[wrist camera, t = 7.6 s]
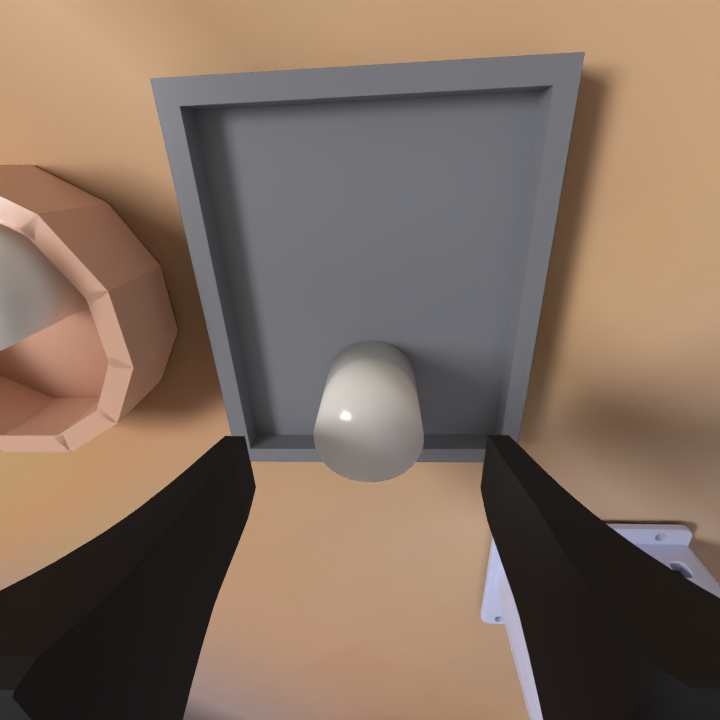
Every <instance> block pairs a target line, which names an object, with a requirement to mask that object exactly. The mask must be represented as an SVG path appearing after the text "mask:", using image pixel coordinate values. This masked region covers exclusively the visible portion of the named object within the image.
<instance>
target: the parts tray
mask: <svg viewBox="0 0 720 720" xmlns="http://www.w3.org/2000/svg"><path fill="white" fill-rule="evenodd" d="M584 54H585V52H575V53H559V54H542V55H526V56H510V57H494V58H477V59H461V60H445V61H428V62H412V63H396V64H380V65H363V66H347V67H331V68H314V69H298V70H282V71H266V72H249V73H233V74H217V75H200V76H184V77H168V78H152V79H150V81H151V85H152V90H153V94H154V98H155V103H156V107H157V112H158V116H159V120H160V125H161V129H162V133H163V138H164V142H165V147H166V151H167V155H168V160H169V164H170V168H171V173H172V177H173V182H174V186H175V190H176V195H177V199H178V203H179V208H180V212H181V216H182V221H183V225H184V230H185V234H186V238H187V243H188V247H189V251H190V256H191V260H192V265H193V269H194V273H195V278H196V282H197V286H198V291H199V295H200V300H201V304H202V308H203V313H204V317H205V321H206V326H207V330H208V335H209V339H210V343H211V348H212V352H213V356H214V361H215V365H216V369H217V374H218V378H219V383H220V387H221V391H222V396H223V400H224V404H225V409H226V413H227V418H228V422H229V426H230V431H231V435H232V436H245V439H246V443H247V448H248V453H249V457H250V461H268V462H323V461H322V459H321V458H320V457H319V455H318V453H317V451H316V448H315V445H314V436H313V434H314V428H315V424H316V420H317V416H318V412H319V408H320V404H321V400H322V396H323V392H324V388H325V385H326V381H327V377H328V373H329V369H330V366H331V364H332V361H333V360H334V358H335V357H336V356H337V355H338V353H339V352H341V351H342V350H343V349H344V348H346V347H347V346H349V345H351V344H354V343H357V342H361V341H368V340H375V341H382V342H385V343H388V344H391V345H393V346H395V347H396V348H398V349H399V350H401V351H402V352H403V353H404V354H405V355H406V356H407V358H408V359H409V360H410V362H411V364H412V366H413V369H414V374H415V380H416V387H417V393H418V400H419V407H420V413H421V420H422V427H423V433H424V444H423V449H422V452H421V454H420V456H419V458H418V459H417V461H416V462H484V458H485V450H486V442H487V435H509V436H510V437H511V438H512V439H513V440H514V441H515V442H516V443H517V444H518V441H519V435H520V429H521V423H522V417H523V412H524V406H525V400H526V394H527V388H528V382H529V376H530V371H531V365H532V359H533V353H534V347H535V341H536V335H537V330H538V324H539V318H540V312H541V306H542V300H543V294H544V289H545V283H546V277H547V271H548V265H549V259H550V253H551V248H552V242H553V236H554V230H555V224H556V218H557V213H558V207H559V201H560V195H561V189H562V183H563V177H564V172H565V166H566V160H567V154H568V148H569V142H570V136H571V131H572V125H573V119H574V113H575V107H576V101H577V95H578V90H579V84H580V78H581V72H582V66H583V60H584Z"/></svg>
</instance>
